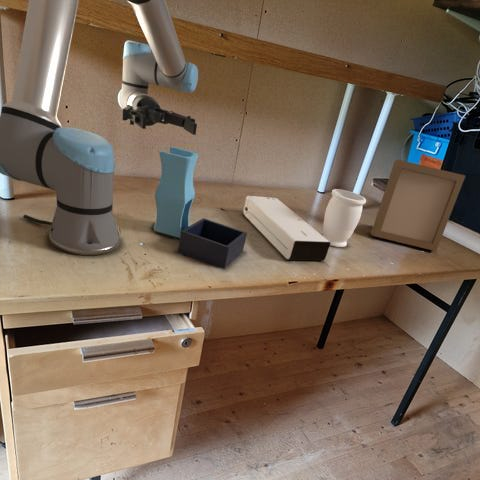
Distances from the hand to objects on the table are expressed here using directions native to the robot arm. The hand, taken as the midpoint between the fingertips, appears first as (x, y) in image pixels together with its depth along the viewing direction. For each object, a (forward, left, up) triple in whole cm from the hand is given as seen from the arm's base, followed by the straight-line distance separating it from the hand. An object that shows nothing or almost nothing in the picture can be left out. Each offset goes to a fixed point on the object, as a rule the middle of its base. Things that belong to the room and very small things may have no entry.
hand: (170, 126), depth 105 cm
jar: (+47, +26, -25) cm, 59 cm away
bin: (+21, -10, -24) cm, 34 cm away
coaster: (+7, -6, -24) cm, 26 cm away
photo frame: (+67, +51, -25) cm, 87 cm away
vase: (+7, -6, -24) cm, 26 cm away
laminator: (+31, +15, -25) cm, 42 cm away
